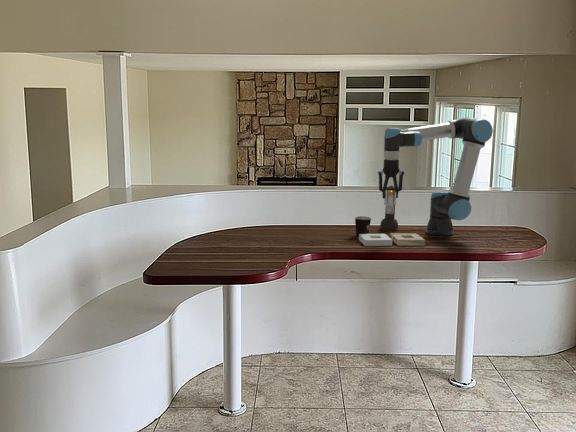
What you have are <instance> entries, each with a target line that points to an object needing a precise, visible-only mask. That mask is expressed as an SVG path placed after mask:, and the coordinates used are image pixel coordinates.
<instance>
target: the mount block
mask: <svg viewBox="0 0 576 432" xmlns="http://www.w3.org/2000/svg"><path fill="white" fill-rule="evenodd" d="M358 241H360V242H361V243H362V244H363V246H364V247H390V246H393V241H392V239H391V238H390V236H388V234H386V233H369V234H359V237H358Z"/></svg>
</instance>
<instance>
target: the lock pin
mask: <svg viewBox="0 0 576 432" xmlns="http://www.w3.org/2000/svg"><path fill="white" fill-rule="evenodd" d="M386 192H387V205H385V207H386V214H393V213H394V191H386Z"/></svg>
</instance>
